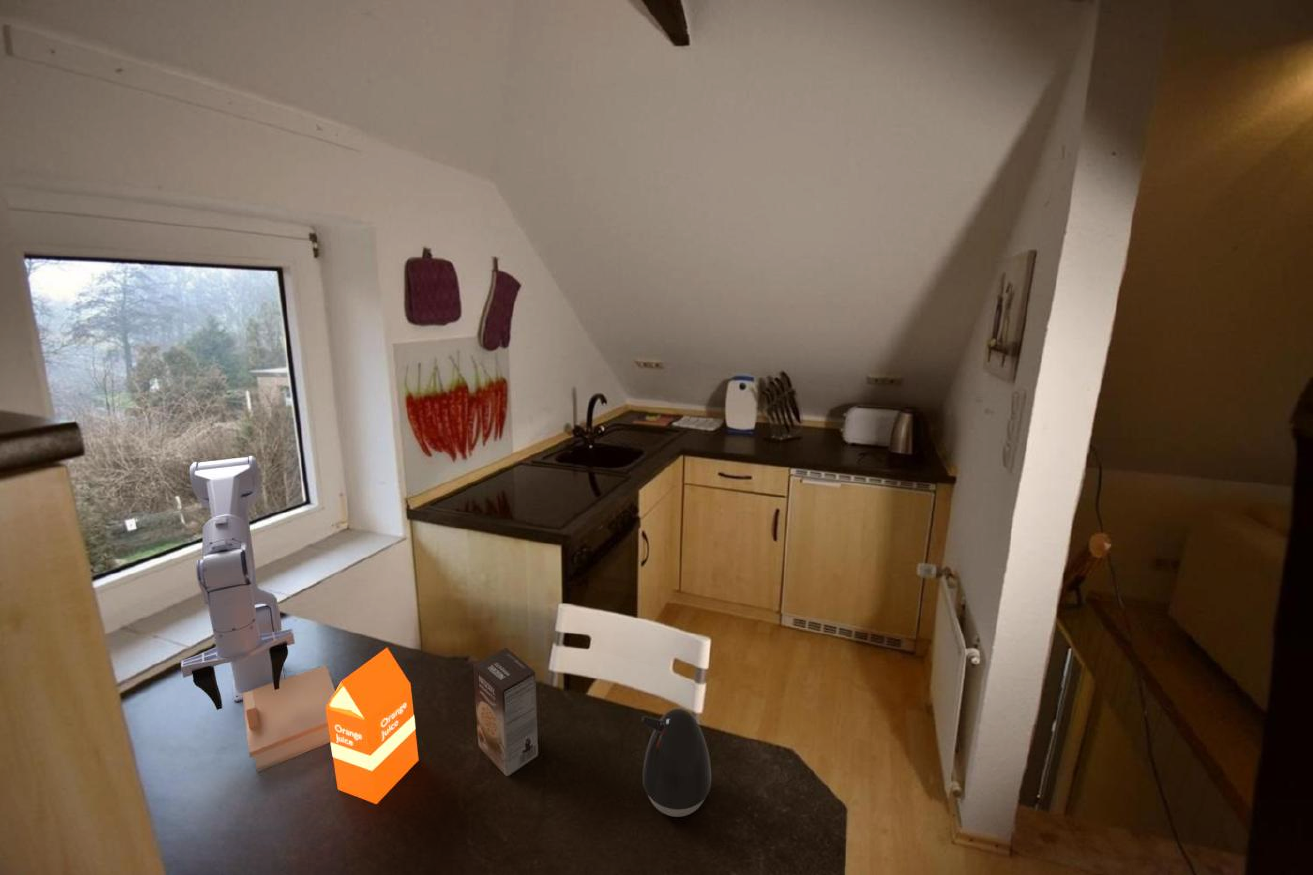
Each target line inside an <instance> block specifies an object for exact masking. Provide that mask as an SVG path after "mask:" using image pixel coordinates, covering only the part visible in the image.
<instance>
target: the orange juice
mask: <svg viewBox="0 0 1313 875" xmlns="http://www.w3.org/2000/svg"><path fill="white" fill-rule="evenodd" d="M326 713H327V720H328V726H329V733H330V740H331V742H330V748H331V750H330V751H331V754H332V758H333V760H332V761H333V765H334V772H335V779H336V784H337V785H336V786H337V787H336V788H337V790H338V791H341V792H342V793H346V794H349V795H351V796H354V797H358V798H359V799H362V800H365V801H367V802H370V803H372V804H375V805H377V804H379V802H380V801H381V800H382V799H383V798H384V797H385V796H386V795H387V794H388V793H389V792H390V790H392V789H393V787H394V786H396V784H397V783H398V782H399V781H400V780H401V779H402V778H403V777H404V776H405V775H406V774H407V773H408V772H409V770H411V768H413V767H414V765H416V763H418V762H419V753H418V744H417V743H418V741H417V735H416V734H417V733H416V719H415V714H414V704H413V695H412V686H411V682H410V681H409V679H408V678H407V677H406V674H405V673H404V671H403V669H401V667H400V665H399V663H397V661H396V659H395V658H394V656H393V654H392V653H391V651H390V650H389V647H388V646H387V647H386V648H384V649H383V650H382V651H380V652H378V654H376V655H375V656H374V657H372V658H371V659H370V660H368V661H367V662H366V663H364V664H362V666H360V667H359V668H358V669H356V670H354V671H353V672H352V673H350V674H349V675H348V676H347V677H345V678H344V679H342V680H341V681H340V683H339V684H338V686H337V688H336V690H335V693H334V695H333V696H332V698H331V700H330V702H329V703H328V705H327V707H326Z"/></svg>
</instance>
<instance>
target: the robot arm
mask: <svg viewBox="0 0 1313 875" xmlns="http://www.w3.org/2000/svg"><path fill="white" fill-rule="evenodd" d="M189 478H190V479H189V480H190V484H191V489H192V491H193V492H192V493H193V494H194V495H195V497H196V499H197V501H198V503H200V505H201V507H203V508H207V509H210V510H209V511H210V515H211V518H210V519H209V520H208V521H206V522H205V524H204V525H203V527H202V546H201V547H202V549H201V550H202V552H201V559H197V560H196V566H195V571H196V579H197V584H198V587H199V588H200V591H201V593H202V596H203V601H204V604H205V605H207V607H208V613H209V617H210V618H209V619H210V624H211V628H212V633H213V639H214V643H215V646H214V647H213V648H211V649H208V650H206V651H203V652H201V653H199V654H197V655H194V656H192V657H189V658H186V659H182V660H181V662H180V669H181V674H182V678H188V677H190V676H192V682H193V683H194V685H195V686H196V687H197V688H199V689H200V690H201V691H203V692H204V693H205V694H206V695H207V696H208V697H209V699H210V700H211V701H212V703H213V704H214V706H215V709H216V710H217V711H218V710H221V709H223V701H222V695H221V692H220V689H219V686H218V682H217V676H216V671H215V667H216V666H219V665H224V664H229V663H230V665H231V667H230V668H231V672H232V674H231V682H232V692H233V693H232V695H233V701H234V702H239V701H243V695H242V693H244V692H247V691H250V690H253V689H256V688H259V687H262V686H265V685H268V684H271V683H273V684H274V689H275V690H277V689H279V682H280V680H283V679H286V678H285V674H284V669H283V668H284V665H285V662H286V660H287V658H288V656H289V648H288V646H291V645H294V644H296V642H295V635H294V632H293V628H289V629H285V630H282V629H283V628H282V621H281V620H282V619H281V613H280V607H279V604H278V600H277V597H276V596H275V594H273V593H271V592H268V591H266V590H264V589H261V588H259V586H258V580H257V571H256V565H255V564H256V563H255V556H254V549H253V548H254V547H253V541H252V535H251V527H250V526H251V525H250V518H249V514H250V509H251V505H252V504H253V503H255V502H256V501H258V500H259V499H261V494H262V488H261V478H260V470H259V464H258V458H256V457H255V456H254V455H249V456H246V457H236V458H228V459H219V460H211V461H201V462H200V461H195V462H192V464H191V465H190V467H189ZM257 605H260V606H257ZM256 606H257V607H256Z"/></svg>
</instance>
